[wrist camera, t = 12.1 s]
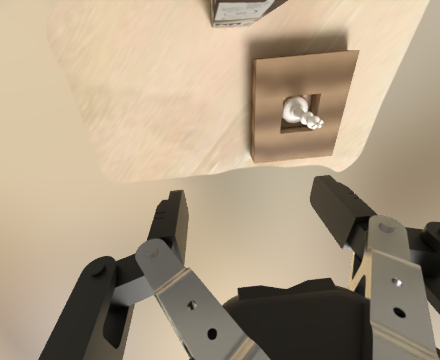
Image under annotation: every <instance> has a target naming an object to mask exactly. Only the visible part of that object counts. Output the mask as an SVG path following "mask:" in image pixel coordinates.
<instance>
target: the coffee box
mask: <svg viewBox="0 0 440 360" xmlns="http://www.w3.org/2000/svg"><path fill="white" fill-rule="evenodd" d="M286 1H288V0H211V16H212V27H213V28H229V27H245V26H251V25H252V24H253V23H254V22H256V21H258V20H259V19H261V18H262V17H264V16H265V15H266V14H268V13H269V12H271V11H273V10H274V9H276V8H277V7H279V6H280V5H282V4H283V3H285V2H286Z"/></svg>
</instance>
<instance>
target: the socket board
mask: <svg viewBox="0 0 440 360" xmlns="http://www.w3.org/2000/svg"><path fill="white" fill-rule="evenodd" d="M358 54H359V50H347V51H337V52H326V53H315V54H305V55H294V56H283V57H272V58H262V59H252V142H251V157H252V159H253V162H254V163H264V162H273V161H283V160H293V159H303V158H313V157H323V156H332V153H333V150H334V146H335V142H336V138H337V134H338V131H339V127H340V123H341V119H342V115H343V111H344V108H345V104H346V100H347V96H348V92H349V89H350V85H351V81H352V77H353V73H354V70H355V66H356V62H357V58H358ZM310 94H312V100H311V106H310V112H312V114H313V116H318V117H319V118H320V120H323V122H324V123H322V124H321V126H322V127H321V128H318V127H317V128H315V129H314V130H313V129H311V128H309V127H308V126H298V127H288V128H281V118H282V108H283V97H289V96H299V95H310Z"/></svg>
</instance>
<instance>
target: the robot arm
mask: <svg viewBox="0 0 440 360" xmlns="http://www.w3.org/2000/svg"><path fill="white" fill-rule="evenodd" d="M310 202H311V205H312V207H313V208H314V210H315V211H316V213H317V214H318V216H319V217H320V218H321V220H322V221H323V222H324V224H325V226H326V227H327V228H328V230H329V231H330V233H331V234H332V236H333V237H334V238H335V240H336V241H337V243H338V244H339V245H340V247H341V248H342V249H343V250H344V249H352V250H353V251H354V253H353V255H352V262H351V270H350V278H349V286H348V289H346V288H343V287H339V286H335V285H334V283H333V281H332V279H331V278H325V279H315V280H307V281H305V282H303V283H301V284H298V285H296V286H293V287H291V288H289V289H281V288H274V287H267V286H261V285H260V286H251V287H243V288H238V295H237V296H235V297H233V298H231V299H230V300H228V301H227V302H226V303H224V304H223V305H221V304H220V303H219V302H218V301H217V299H216V298H215V297H214V296H213V295H212V293H211V292H210V291H209V290H208V289H207V287H206V286H205V285H204V284H203V283H202V281H201V280H200V279H199V278H198V277H197V276H196V274H195V273H194V272H193V271H192V270H191V269H190V268H185V266H184V261H185V251H186V239H187V229H188V219H189V215H188V207H187V203H186V199H185V194H184V191H183V190H176V191H170V195H169V199H168V200H162V201H161V203H160V204H159V205H158V206H157V209H156V212H155V215H154V220H153V222H152V225H151V228H150V232H149V235H148V238H147V241H146V242H144V243H143V244H142V245H141V246H140V247H139V248H138V249H137V251H136V253H135V254H133V255H131V256H128V257H126V258H123V259H120V260H118V261H115V260H114V258H112V257H110V256H104V257H100V258H97V259H95V260H94V261H92V262H91V263H89V264H88V265H87V266H86V267H85V268H84V270H83V271H82V273H81V275H80V277H79V279H78V281H77V283H76V285H75V287H74V289H73V291H72V293H71V295H70V297H69V299H68V301H67V303H66V305H65V307H64V309H63V311H62V313H61V315H60V317H59V319H58V321H57V323H56V325H55V327H54V329H53V331H52V333H51V335H50V337H49V339H48V341H47V343H46V345H45V348H44V349H43V351H42V353H41V355H40V357H39V359H38V360H122V358H123V355H124V350H125V345H126V341H127V336H128V332H129V327H130V323H131V318H132V314H133V309H134V305H135V303H137V302H139V301H141V300H143V299H146V298H148V297H150V296H152V295H154V296H155V297H156V299H157V301H158V303H159V304H160V306H161V308H162V309H163V311H164V313H165V315H166V316H167V318H168V320H169V322H170V324H171V325H172V327H173V329H174V331H175V333H176V335H177V336H178V338H179V340H180V342H181V343H182V345H183V347H184V349H185V350H186V352H187V354H188V356H189V357H190V359H189V360H440V350H439V349H438V348H436V346H435V341H434V335H433V330H432V324H431V319H430V313H429V308H428V303H427V300H428V301H429V302H430V303H431V305H432V306H433V307H434V308H435V309H436V311H437V312H438V313H439V314H440V222H430V223H428V224H427V225H426V226H425V228H424V229H423V230H422V229H414V228H406V227H404V226H403V225H402V224H401V223H400V222H398V221H397V220H395V219H393V218H390V217H387V216H382V215H377V214H376V213H375V212H374V211H373V210H372V209H371V208H370V207H369V206H368V205H367V204H366V203H364V202H363V201H362V200H361V199H359V197H358V196H357V195H356V194H354V192H353V191H352V190H350V189H349V188H348V187H347V186H345V185H343V184H341V183H339V182H338V183H337V182H336V181H335V180H334V179H333V178H332V177H331V176H330V175H327V176H326V175H325V176H316V177H315V178H314V181H313V186H312V190H311V195H310Z"/></svg>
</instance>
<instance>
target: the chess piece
mask: <svg viewBox="0 0 440 360" xmlns="http://www.w3.org/2000/svg"><path fill="white" fill-rule="evenodd" d="M282 117H283V119H284V120H285V121H286V122H288V123H297V122H300V121H301V123H302V124H307V126H308V127H309V128H311V129H313V130H314V129H315V128H317V127H318V128H321V127H322V126H321V124H322V123H324V122H323V120H320V118H319V117H318V116H313V114H312V112H308V103H307V101H306V100H305V99H304V98H302V97H300V96H295V97H292V98H290V99H288V100H287V101H286V102H285V103H284V105H283V108H282Z"/></svg>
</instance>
